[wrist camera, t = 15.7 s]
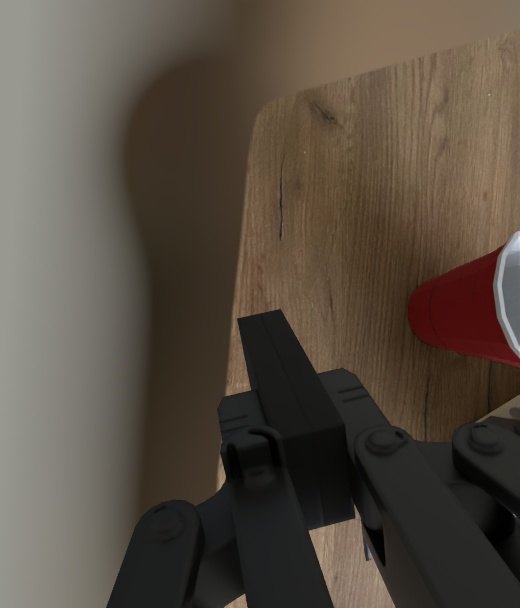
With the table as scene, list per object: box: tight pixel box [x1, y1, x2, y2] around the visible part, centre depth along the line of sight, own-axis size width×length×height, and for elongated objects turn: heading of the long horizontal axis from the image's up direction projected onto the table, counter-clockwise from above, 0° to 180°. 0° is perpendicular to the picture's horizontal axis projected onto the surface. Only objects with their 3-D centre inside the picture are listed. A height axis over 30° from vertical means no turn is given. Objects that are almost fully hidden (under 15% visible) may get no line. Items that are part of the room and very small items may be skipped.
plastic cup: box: [408, 231, 520, 368], centre depth 38 cm, size 11×11×12 cm
